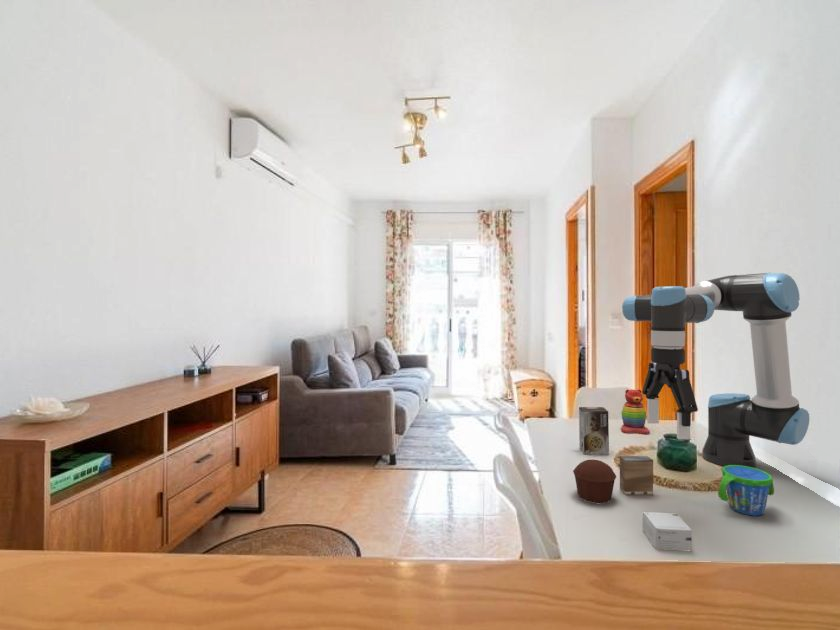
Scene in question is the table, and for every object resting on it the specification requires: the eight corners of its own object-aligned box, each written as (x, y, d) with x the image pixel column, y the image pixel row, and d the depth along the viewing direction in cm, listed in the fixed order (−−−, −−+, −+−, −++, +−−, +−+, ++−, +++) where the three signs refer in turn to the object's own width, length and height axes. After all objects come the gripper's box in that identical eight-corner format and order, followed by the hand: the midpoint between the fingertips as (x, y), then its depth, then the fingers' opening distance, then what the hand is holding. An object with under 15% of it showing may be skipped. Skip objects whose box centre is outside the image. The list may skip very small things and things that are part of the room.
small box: (655, 550, 96) (655, 527, 96) (641, 531, 104) (641, 510, 104) (692, 552, 95) (692, 529, 95) (676, 533, 103) (676, 512, 102)
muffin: (596, 509, 115) (595, 472, 115) (564, 493, 125) (564, 459, 124) (625, 499, 120) (625, 464, 120) (593, 485, 130) (593, 452, 130)
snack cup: (735, 521, 108) (735, 481, 107) (703, 502, 118) (704, 466, 118) (792, 518, 109) (792, 478, 109) (755, 499, 120) (756, 463, 119)
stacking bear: (623, 433, 181) (623, 391, 180) (617, 426, 191) (617, 387, 190) (651, 434, 178) (651, 392, 178) (644, 428, 188) (644, 387, 188)
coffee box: (603, 449, 162) (603, 406, 161) (609, 455, 155) (609, 411, 155) (578, 448, 163) (578, 406, 162) (583, 454, 156) (583, 410, 156)
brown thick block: (653, 494, 123) (653, 460, 123) (625, 494, 123) (625, 460, 123) (646, 489, 127) (646, 455, 126) (619, 489, 127) (619, 456, 126)
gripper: (716, 352, 96) (715, 446, 96) (655, 342, 121) (655, 417, 121) (682, 353, 96) (682, 446, 96) (629, 343, 121) (628, 417, 121)
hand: (667, 430), depth 109 cm, fingers open, 13 cm apart
